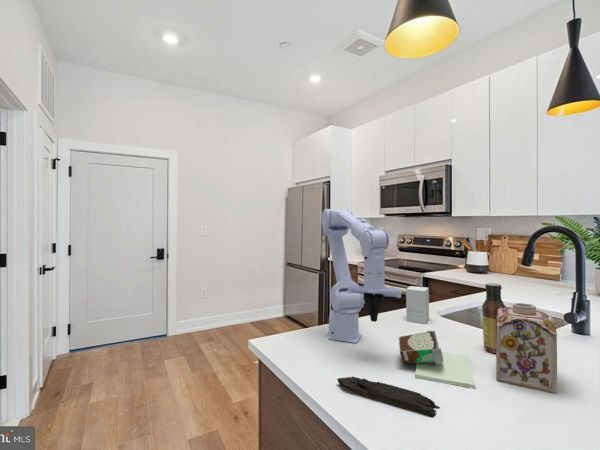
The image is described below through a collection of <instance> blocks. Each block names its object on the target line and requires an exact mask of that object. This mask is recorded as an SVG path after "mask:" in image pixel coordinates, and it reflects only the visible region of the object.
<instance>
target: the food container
mask: <svg viewBox="0 0 600 450" xmlns="http://www.w3.org/2000/svg"><path fill="white" fill-rule="evenodd" d="M398 347H399V349H398V350H399V354H400V359H401V362H402V364H417V363H433V362H435V364H436V365H438V364H441V362H444V361H443V356H442V352H443V351H442V349H441V348H440V345H439V342H438V338H437V335H436V331H435V330H427V331H425V332H418V333H413V334H408V335H403V336H398ZM441 351H442V352H441Z"/></svg>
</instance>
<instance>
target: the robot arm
mask: <svg viewBox="0 0 600 450" xmlns="http://www.w3.org/2000/svg"><path fill="white" fill-rule="evenodd" d="M320 220H321V221H320V222H321V226H322V231H323V234H324V235H325V236H326V237H327V239H328V240H327V241H328V246H329V250H330V256H331V260H332V265H333V270H334V273H335V279H336V280H335V281H336V283H335V284H334V285H333V286H332V287H331V288H330V303H331V307H332V309H331V310H330V312H329V316H328V338H327V339H328V340H334V341H340V342H346V343H352V344H353V343H354V344H357V343H358V342H359V340H360V339H361V337H363V334H362V333H360V331H359V330H360V329H359V325H360V323H359V316H360V315H359V312H361V311H362V310H361V309H362V308H364V305H366V307H367V311H368V312H369V317H370V322H375V323H376V322H377V321H378V316H379V312H380V308H381V306H382V303H383V301H384V299H385V297H393V298H397V299H401V297H402V289H398V288H391V287H390V288H389V287H387V286H386V287H385V273H386V271H385V269H386V267H385V261H386V260H385V251H386V249H388V247H389V244H390V236H389V234H388V232H387V231H386V230H385V229H376V228H375V226H373V225H371V224H369V223H368V222H367V220H366V219H361V218H360V219H357V217H355V216H354V213H353V210H351V209H349V208H347V209H342V208H340V209H337V208H336V209H335V208H334V209H333V208H332V209H331V208H324V210H323V211H322V213H321V219H320ZM349 230H350V234H351V235H352V236H353V237H354V238H355V239H356V240H358V241H359V245H360V248H361V256H363V285H360V284H358V283H357V282H355V281H354V280H353V279H352V275H351V271H350V267H349V261H348V258H347V253H346V248H345V245H344V239H343V237H344V236H345V235H347V234H348V233H349Z"/></svg>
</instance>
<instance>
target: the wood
mask: <svg viewBox="0 0 600 450" xmlns="http://www.w3.org/2000/svg"><path fill="white" fill-rule="evenodd" d="M336 381H337V382H338V384H339V386H342V387H346V388H347V389H352V390H353V391H355V392H357V393H359V394H361V395H362V396H364V397H366V398H368V399H370V400H375V401H381V402H384V403H387V404H389V405H393V406H396V407H399V408H401V409H404V410H408V411H412V412H415V413H418V414H421V415H424V416H427V417H430V418H434V417H436V416H437V411H436V410H437V409H441V406H438V405H436V403H435V402H434V401H433V400H432V399H431V398H428V397H427V396H425V395H423V394H421V393H420V392H416V391H413V390H409V389H406V388H402V387H399V386H395V385H392V384H387V383H385V382H381V381H380V382H379V381H371V380H368V379H367V378H363V377H362V378H360V377H355V376H348V377H347V376H346V377H339V378H337V379H336ZM435 408H436V409H435ZM435 412H436V413H435Z"/></svg>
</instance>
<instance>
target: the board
mask: <svg viewBox="0 0 600 450" xmlns="http://www.w3.org/2000/svg"><path fill="white" fill-rule="evenodd" d="M441 352H442V356H443V361H444V362H441V364H438V365H436V364H435V362H433V363H416V366H415V374H414V379H415V378H416V379H422V380H426V381H432V382H436V383H441V384H448V385H452V386H453V385H454V386H458V387H459V386H460V387H464V388H470V389H476V382H475V378H474V373H473V369H472V364H471V360H470V355H468V354H461V353H454V352H448V351H443V350H441Z"/></svg>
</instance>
